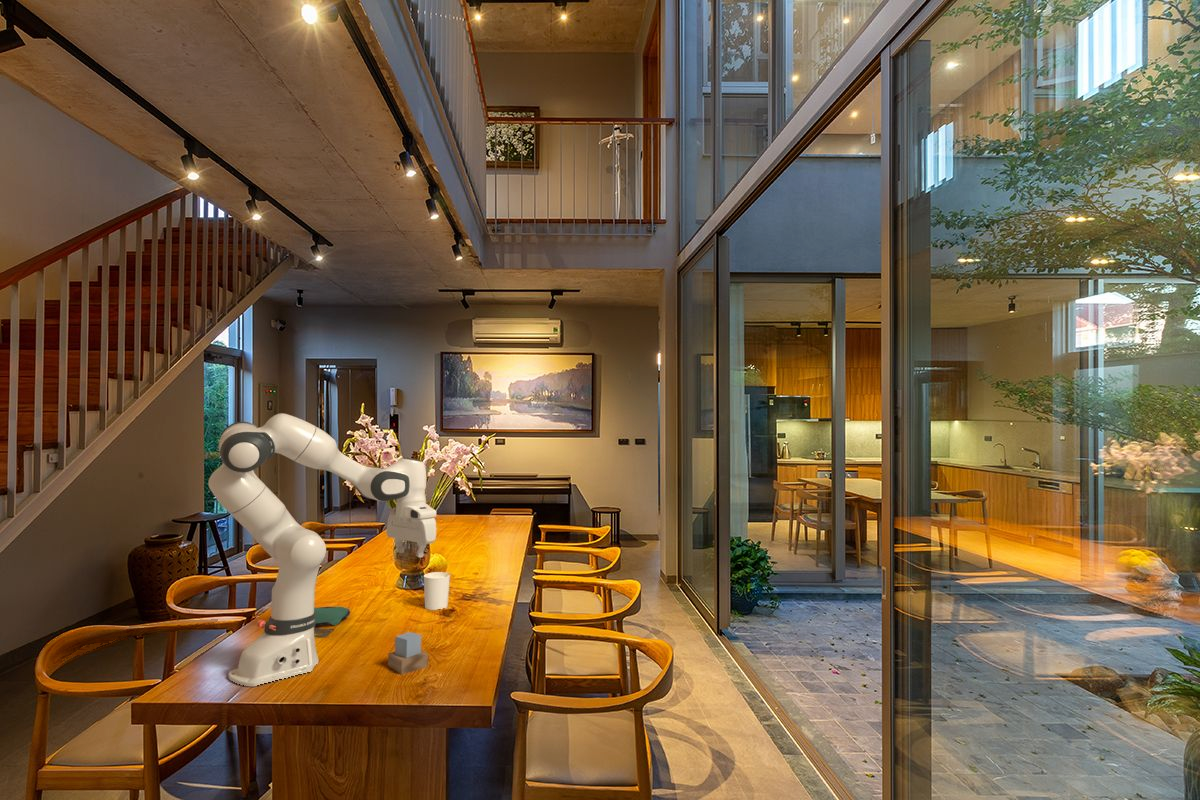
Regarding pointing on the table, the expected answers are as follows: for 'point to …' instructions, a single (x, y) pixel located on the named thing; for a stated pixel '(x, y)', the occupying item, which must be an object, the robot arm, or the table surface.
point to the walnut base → (407, 662)
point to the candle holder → (436, 590)
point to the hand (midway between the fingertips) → (409, 554)
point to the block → (407, 644)
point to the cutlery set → (329, 617)
